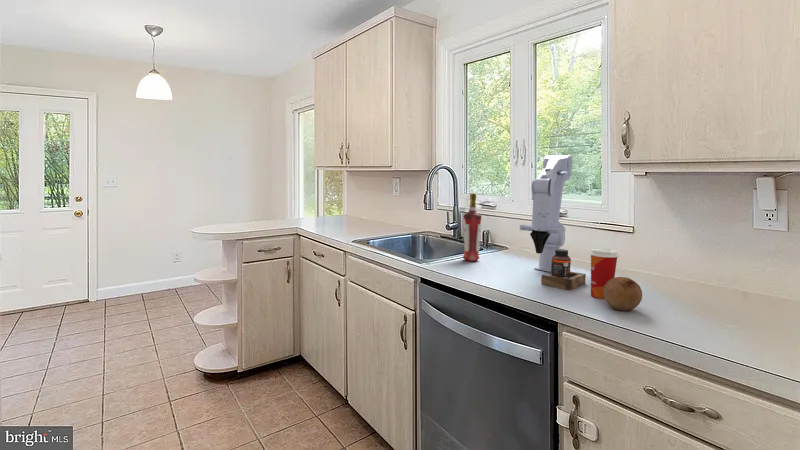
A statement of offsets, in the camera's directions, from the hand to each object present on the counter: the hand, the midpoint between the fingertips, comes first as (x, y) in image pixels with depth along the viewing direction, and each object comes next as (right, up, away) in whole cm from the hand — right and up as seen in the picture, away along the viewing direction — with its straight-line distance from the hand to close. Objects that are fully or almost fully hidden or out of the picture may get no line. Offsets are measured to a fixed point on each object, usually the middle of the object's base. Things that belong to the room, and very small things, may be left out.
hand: (539, 252), depth 146 cm
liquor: (-18, -5, +31) cm, 36 cm away
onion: (+12, -13, -30) cm, 35 cm away
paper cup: (+12, -12, -19) cm, 26 cm away
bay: (+6, -10, -5) cm, 13 cm away
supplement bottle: (+6, -10, -4) cm, 12 cm away
